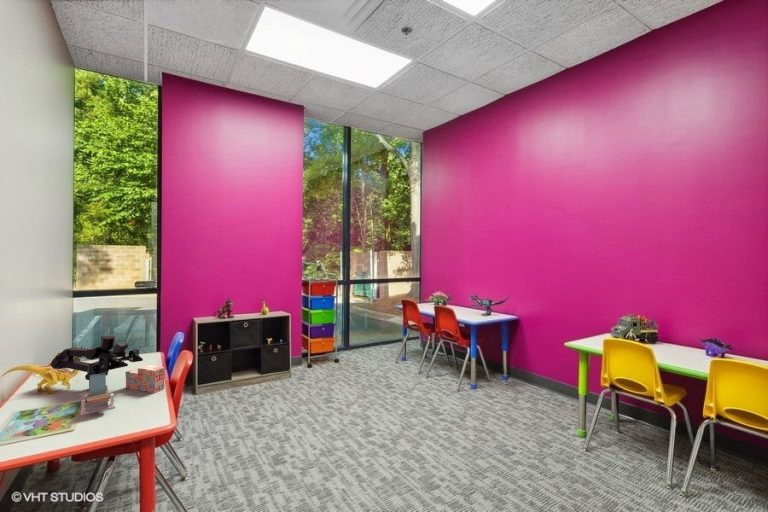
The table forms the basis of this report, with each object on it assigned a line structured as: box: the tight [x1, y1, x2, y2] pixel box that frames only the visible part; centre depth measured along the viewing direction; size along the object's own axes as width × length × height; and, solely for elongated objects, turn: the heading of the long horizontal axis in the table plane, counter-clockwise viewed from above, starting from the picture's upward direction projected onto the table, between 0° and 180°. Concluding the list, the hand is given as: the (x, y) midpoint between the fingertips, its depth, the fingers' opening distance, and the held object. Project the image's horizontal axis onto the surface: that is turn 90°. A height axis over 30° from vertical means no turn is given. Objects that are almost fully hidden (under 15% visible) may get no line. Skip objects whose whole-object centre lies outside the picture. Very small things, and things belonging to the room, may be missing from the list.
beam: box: [85, 386, 111, 412], centre depth 179 cm, size 25×9×5 cm, turn 39°
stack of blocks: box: [125, 364, 166, 394], centre depth 202 cm, size 21×6×12 cm, turn 71°
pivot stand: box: [80, 393, 116, 416], centre depth 176 cm, size 5×13×6 cm, turn 129°
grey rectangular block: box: [90, 373, 107, 396], centre depth 178 cm, size 5×6×9 cm
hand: (135, 362), depth 196 cm, fingers open, 9 cm apart
